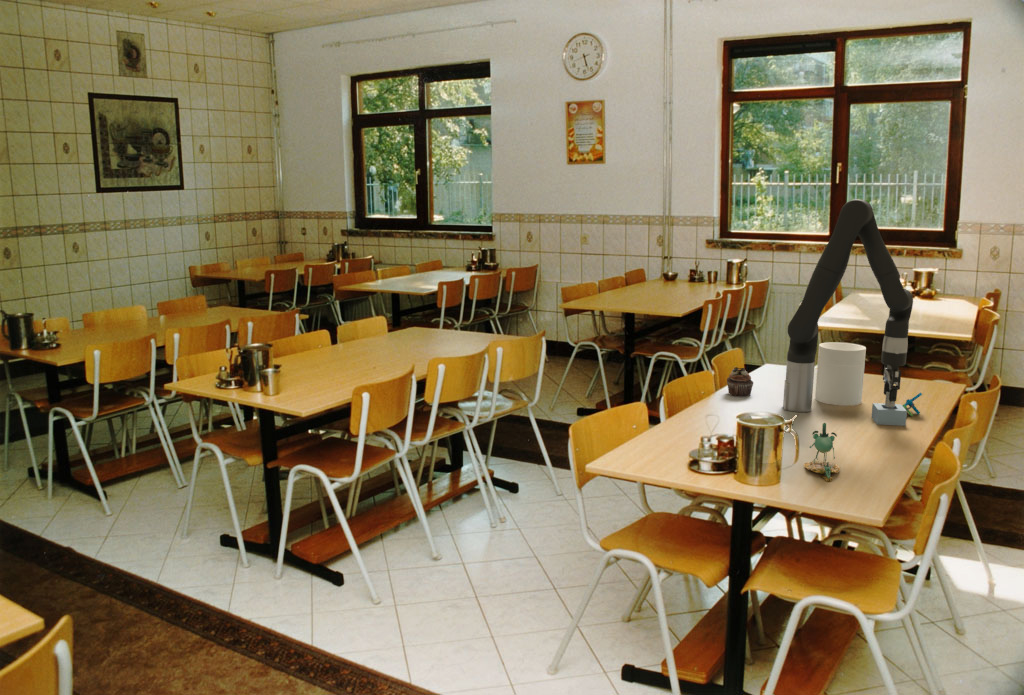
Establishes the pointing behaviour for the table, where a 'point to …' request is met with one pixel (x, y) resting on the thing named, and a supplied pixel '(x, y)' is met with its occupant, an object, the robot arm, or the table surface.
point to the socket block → (889, 414)
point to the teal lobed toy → (912, 404)
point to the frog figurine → (823, 446)
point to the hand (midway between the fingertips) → (889, 397)
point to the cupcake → (739, 383)
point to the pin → (889, 402)
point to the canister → (840, 373)
